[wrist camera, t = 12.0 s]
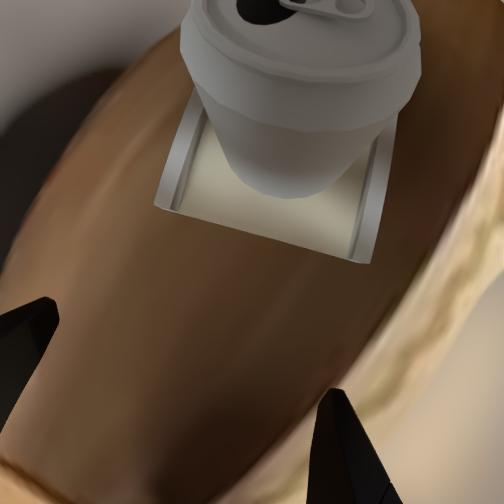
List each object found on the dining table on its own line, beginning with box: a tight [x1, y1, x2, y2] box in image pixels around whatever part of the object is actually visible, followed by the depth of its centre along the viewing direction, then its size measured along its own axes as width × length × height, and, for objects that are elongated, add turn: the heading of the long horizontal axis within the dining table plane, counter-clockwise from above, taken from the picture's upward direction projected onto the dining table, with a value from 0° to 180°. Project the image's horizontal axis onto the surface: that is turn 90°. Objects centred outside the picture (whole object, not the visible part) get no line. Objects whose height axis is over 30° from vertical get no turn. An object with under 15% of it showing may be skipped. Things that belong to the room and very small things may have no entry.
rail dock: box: [153, 87, 398, 264], centre depth 17 cm, size 12×12×2 cm
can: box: [180, 0, 421, 199], centre depth 12 cm, size 8×8×12 cm
